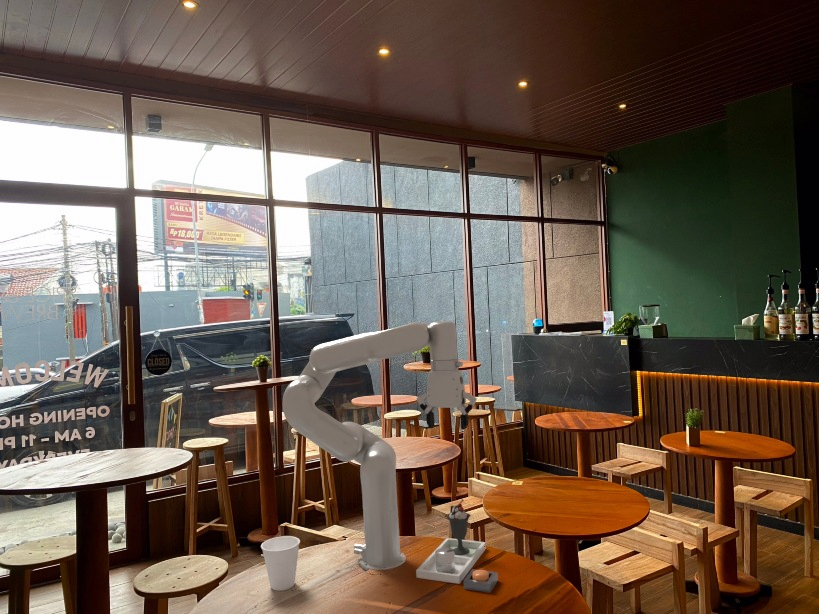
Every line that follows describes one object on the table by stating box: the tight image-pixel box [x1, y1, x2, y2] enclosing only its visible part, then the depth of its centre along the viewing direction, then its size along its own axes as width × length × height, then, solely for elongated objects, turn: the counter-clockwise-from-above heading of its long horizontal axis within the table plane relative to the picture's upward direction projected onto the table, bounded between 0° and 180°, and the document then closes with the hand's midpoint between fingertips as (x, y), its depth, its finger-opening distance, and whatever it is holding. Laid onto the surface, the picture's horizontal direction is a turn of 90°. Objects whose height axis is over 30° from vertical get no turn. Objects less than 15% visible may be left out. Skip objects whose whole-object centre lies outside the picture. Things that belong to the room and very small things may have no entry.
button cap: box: [472, 569, 489, 582], centre depth 145 cm, size 4×4×2 cm
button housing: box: [463, 568, 499, 594], centre depth 145 cm, size 7×7×3 cm
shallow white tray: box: [415, 537, 487, 585], centre depth 159 cm, size 12×22×3 cm, turn 156°
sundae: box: [446, 499, 472, 555], centre depth 165 cm, size 7×7×15 cm
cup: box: [260, 535, 301, 592], centre depth 153 cm, size 10×10×11 cm
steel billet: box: [434, 548, 455, 574], centre depth 154 cm, size 5×5×5 cm
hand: (447, 428), depth 163 cm, fingers open, 9 cm apart
